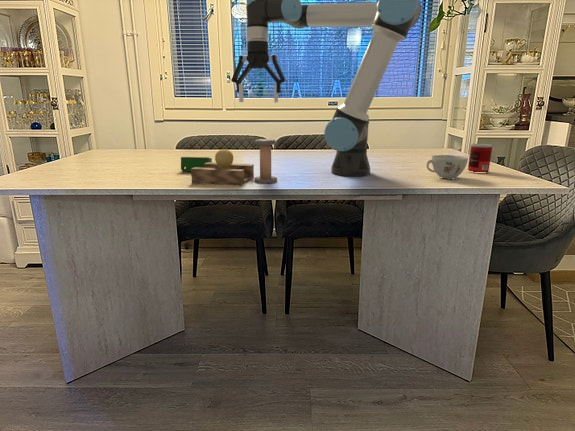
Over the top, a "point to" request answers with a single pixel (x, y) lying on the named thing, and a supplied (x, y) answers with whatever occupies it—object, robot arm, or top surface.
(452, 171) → the teacup
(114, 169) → the top surface
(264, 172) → the bobbin
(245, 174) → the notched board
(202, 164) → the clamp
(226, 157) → the light bulb
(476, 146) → the canned food
